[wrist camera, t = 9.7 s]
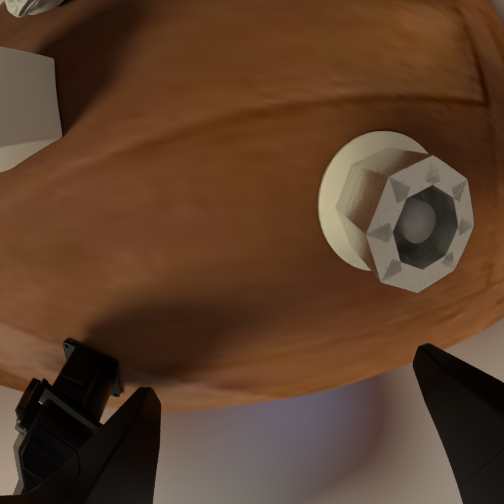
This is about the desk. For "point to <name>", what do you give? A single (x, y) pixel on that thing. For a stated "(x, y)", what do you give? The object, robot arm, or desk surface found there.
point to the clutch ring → (388, 211)
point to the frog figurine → (30, 6)
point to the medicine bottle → (26, 105)
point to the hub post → (413, 212)
